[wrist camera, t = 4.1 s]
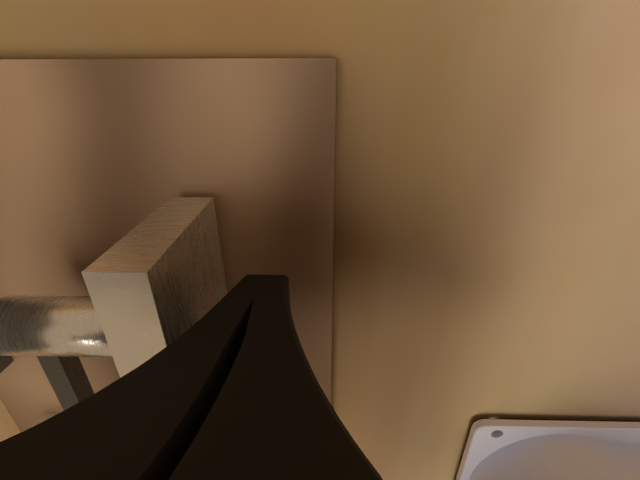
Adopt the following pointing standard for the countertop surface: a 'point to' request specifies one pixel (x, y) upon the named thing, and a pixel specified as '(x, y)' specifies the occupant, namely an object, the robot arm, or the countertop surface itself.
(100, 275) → the silver cylinder with block
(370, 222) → the countertop surface
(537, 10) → the countertop surface
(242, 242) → the base
